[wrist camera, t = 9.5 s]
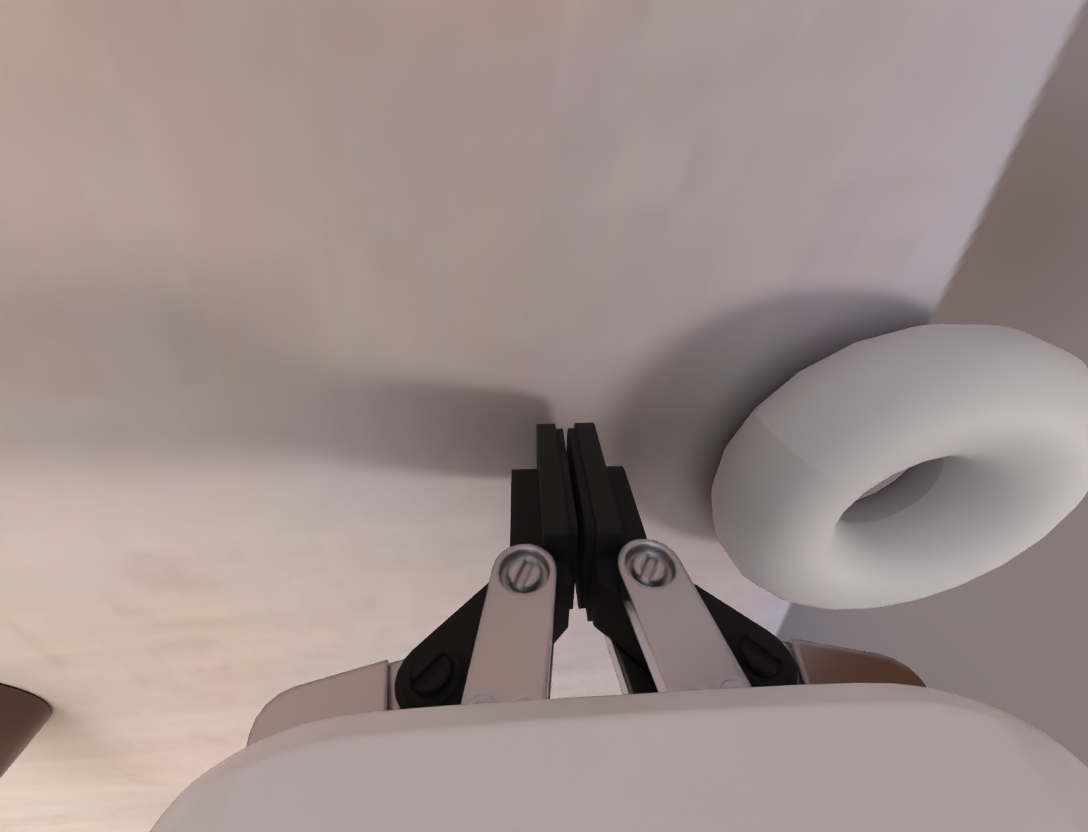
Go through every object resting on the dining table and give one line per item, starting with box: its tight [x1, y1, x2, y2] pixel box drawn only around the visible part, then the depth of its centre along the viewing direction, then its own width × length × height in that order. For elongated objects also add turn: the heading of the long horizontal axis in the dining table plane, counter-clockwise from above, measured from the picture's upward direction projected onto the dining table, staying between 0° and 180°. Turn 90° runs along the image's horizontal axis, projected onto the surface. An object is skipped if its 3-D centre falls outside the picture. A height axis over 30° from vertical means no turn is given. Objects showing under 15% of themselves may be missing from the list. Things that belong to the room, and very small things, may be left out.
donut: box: [711, 324, 1088, 609], centre depth 12 cm, size 10×3×10 cm
